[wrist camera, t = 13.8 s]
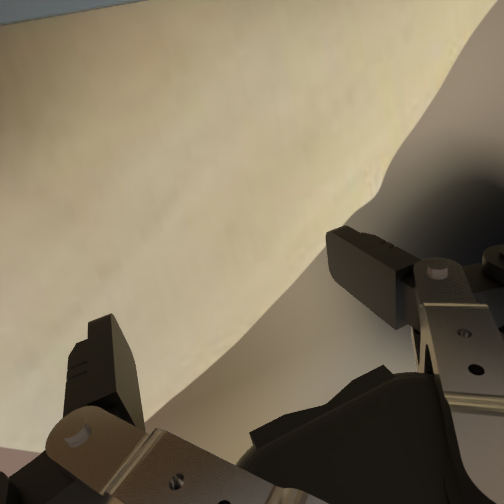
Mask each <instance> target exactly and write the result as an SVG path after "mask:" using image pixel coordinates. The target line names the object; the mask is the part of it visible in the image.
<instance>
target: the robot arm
mask: <svg viewBox="0 0 504 504" xmlns="http://www.w3.org/2000/svg"><path fill="white" fill-rule="evenodd" d="M326 246H327V255H328V264H329V270H330V273H331V275H332V277H333V279H334V280H335V281H336V282H337V283H338V284H339V285H340V286H342V287H343V288H344V289H345V290H347V291H348V292H349V293H350V294H352V295H353V296H354V297H355V298H357V299H358V300H359V301H360V302H361V303H363V304H364V305H365V306H366V307H368V308H369V309H370V310H371V311H373V312H374V313H375V314H376V315H377V316H379V317H380V318H381V319H382V320H384V321H385V322H386V323H388V324H389V325H390V326H391V327H392V328H394V329H395V330H397V329H399V328H401V327H403V326H405V325H407V324H409V325H410V326H412V330H411V335H412V342H413V348H414V355H415V362H416V368H417V372H405V373H396V374H392V373H391V372H390V371H389V370H388V369H387V368H386V367H385V366H384V365H382V366H380V367H378V368H376V369H374V370H372V371H370V372H368V373H366V374H364V375H362V376H360V377H358V378H356V379H354V380H352V381H351V382H350V383H349V384H348V385H347V386H346V387H345V388H344V389H342V390H341V391H340V392H339V393H338V394H337V395H336V396H335V397H334V398H333V399H331V400H330V401H329V402H328V403H327V404H325V405H322V406H318V407H314V408H310V409H306V410H302V411H298V412H294V413H290V414H285V415H283V416H281V417H279V418H277V419H275V420H273V421H272V422H269V423H267V424H265V425H263V426H261V427H259V428H257V429H256V430H253V431H251V432H250V433H249V434H250V436H251V440H252V443H253V446H252V447H251V448H250V449H249V450H247V452H246V453H245V454H244V455H243V456H242V457H241V458H240V460H239V461H238V462H237V464H236V465H234V464H232V463H230V462H228V461H226V460H224V459H222V458H220V457H218V456H216V455H214V454H212V453H210V452H208V451H206V450H204V449H202V448H200V447H198V446H196V445H194V444H192V443H190V442H188V441H186V440H184V439H182V438H180V437H178V436H176V435H174V434H172V433H170V432H168V431H166V430H164V429H161V428H156V429H155V430H154V431H153V432H152V433H151V434H149V433H147V432H146V431H145V425H144V418H143V411H142V405H141V398H140V391H139V385H138V378H137V371H136V365H135V361H134V358H133V355H132V352H131V350H130V347H129V345H128V343H127V341H126V339H125V337H124V335H123V333H122V331H121V329H120V327H119V325H118V323H117V321H116V319H115V317H114V315H113V314H112V313H111V314H109V315H106V316H103V317H101V318H98V319H95V320H93V321H90V322H88V339H86V340H84V341H81V342H79V343H76V345H75V347H74V348H73V350H72V352H71V353H70V355H69V357H68V368H67V369H68V371H67V382H66V389H65V400H64V411H63V418H62V419H61V420H60V421H59V422H58V423H57V424H56V425H55V427H54V428H53V429H52V431H51V432H50V434H49V436H48V438H47V441H46V446H45V449H46V450H45V451H43V452H42V453H41V454H40V455H39V456H38V457H36V458H35V459H34V460H33V461H31V462H30V463H28V464H27V465H26V466H24V467H23V468H21V469H20V470H19V471H17V472H16V473H14V474H13V475H12V476H10V477H9V478H8V477H7V476H6V475H5V474H4V473H3V472H0V504H504V245H497V246H492V247H490V248H488V249H486V250H485V251H484V253H483V260H482V263H478V264H473V265H467V266H462V267H461V266H460V265H459V264H458V263H456V262H454V261H452V260H449V259H445V258H426V259H422V260H421V259H419V258H417V257H415V256H413V255H412V254H410V253H408V252H406V251H404V250H402V249H400V248H398V247H394V245H393V244H391V243H389V242H386V241H385V240H383V239H381V238H380V237H377V236H376V235H371V234H367V233H360V232H358V231H356V230H354V229H352V228H350V227H349V226H342V227H339V228H337V229H334V230H331V231H329V232H327V233H326Z"/></svg>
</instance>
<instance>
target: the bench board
mask: <svg viewBox="0 0 504 504" xmlns="http://www.w3.org/2000/svg"><path fill="white" fill-rule="evenodd" d="M140 1H146V0H0V26H2V25H7V24H13V23H19V22H25V21H30V20H36V19H42V18H48V17H53V16H59V15H65V14H71V13H76V12H82V11H88V10H94V9H100V8H105V7H111V6H117V5H123V4H128V3H134V2H140Z"/></svg>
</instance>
